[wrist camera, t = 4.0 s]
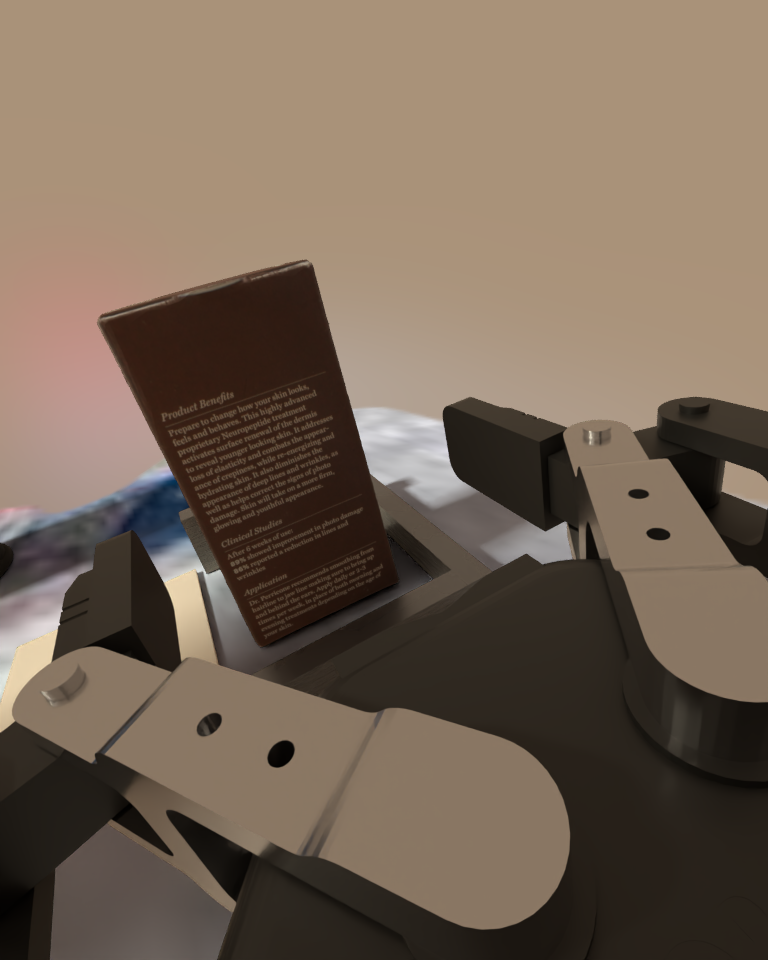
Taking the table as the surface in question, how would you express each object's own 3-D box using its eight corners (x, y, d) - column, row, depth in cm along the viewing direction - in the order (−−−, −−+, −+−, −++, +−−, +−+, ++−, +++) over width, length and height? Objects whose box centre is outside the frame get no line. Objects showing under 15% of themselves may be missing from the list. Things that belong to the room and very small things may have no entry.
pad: (-53, 900, 12) (-58, 895, 12) (19, 650, 21) (17, 647, 21) (236, 737, 15) (234, 733, 15) (196, 572, 23) (195, 568, 23)
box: (362, 533, 23) (283, 260, 17) (403, 586, 19) (318, 256, 13) (237, 587, 21) (106, 305, 16) (254, 656, 17) (89, 316, 12)
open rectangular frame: (252, 743, 14) (214, 675, 13) (203, 563, 24) (178, 511, 22) (497, 604, 17) (487, 535, 16) (368, 491, 26) (355, 441, 25)
